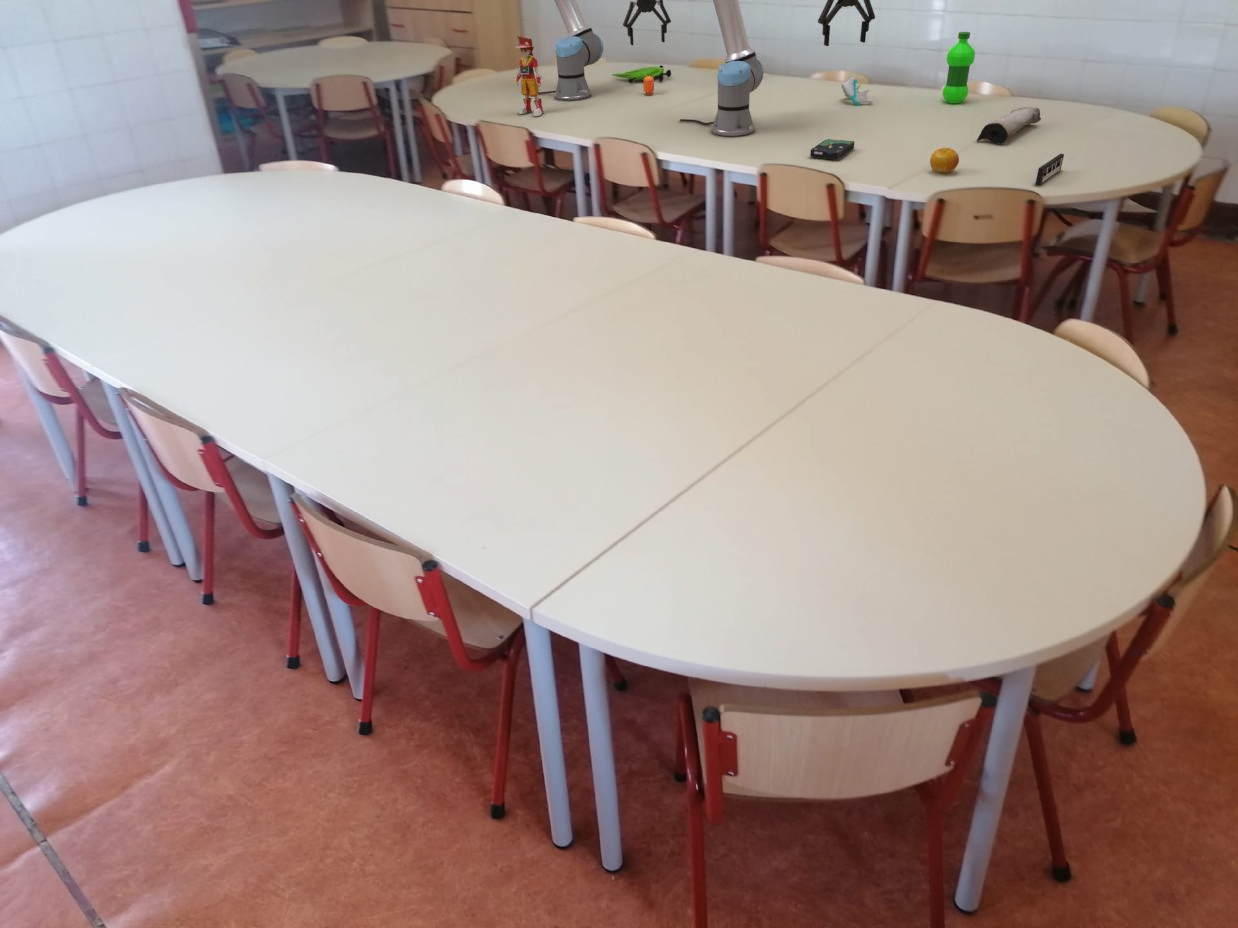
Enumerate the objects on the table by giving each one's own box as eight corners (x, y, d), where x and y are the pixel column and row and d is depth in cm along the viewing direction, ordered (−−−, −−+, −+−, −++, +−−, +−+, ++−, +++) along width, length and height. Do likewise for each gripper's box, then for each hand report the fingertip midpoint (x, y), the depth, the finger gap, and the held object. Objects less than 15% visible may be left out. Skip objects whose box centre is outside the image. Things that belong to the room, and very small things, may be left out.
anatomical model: (836, 76, 365) (861, 69, 364) (839, 102, 371) (863, 95, 370) (847, 84, 352) (872, 77, 352) (849, 111, 358) (874, 104, 358)
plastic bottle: (973, 101, 354) (984, 32, 339) (955, 106, 349) (966, 36, 335) (952, 97, 361) (962, 29, 346) (934, 102, 356) (944, 33, 342)
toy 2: (680, 71, 422) (628, 71, 438) (679, 59, 419) (627, 60, 435) (647, 89, 405) (595, 88, 421) (646, 77, 402) (593, 76, 418)
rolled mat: (1008, 112, 326) (1032, 94, 318) (1022, 133, 327) (1046, 116, 319) (972, 135, 309) (997, 117, 301) (987, 157, 310) (1012, 140, 301)
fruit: (924, 163, 281) (941, 140, 278) (925, 165, 289) (941, 143, 286) (946, 178, 280) (963, 155, 277) (947, 180, 288) (963, 158, 285)
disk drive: (838, 161, 299) (854, 149, 309) (839, 153, 298) (855, 140, 308) (809, 158, 304) (825, 146, 314) (810, 149, 302) (826, 137, 313)
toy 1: (513, 115, 373) (504, 37, 356) (523, 110, 380) (514, 33, 363) (539, 117, 369) (531, 37, 352) (548, 111, 376) (541, 33, 359)
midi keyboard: (1039, 185, 269) (1043, 168, 266) (1035, 184, 270) (1038, 168, 267) (1060, 170, 279) (1064, 154, 277) (1056, 169, 280) (1060, 153, 277)
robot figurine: (655, 96, 390) (655, 76, 386) (645, 97, 390) (645, 77, 385) (652, 92, 396) (651, 73, 391) (642, 93, 395) (641, 74, 390)
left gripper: (673, -17, 373) (673, 39, 385) (614, -12, 370) (617, 44, 382) (677, -14, 367) (678, 42, 379) (617, -9, 364) (620, 47, 376)
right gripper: (879, -28, 310) (873, 39, 322) (811, -22, 307) (807, 45, 319) (889, -26, 304) (882, 42, 316) (819, -20, 301) (814, 49, 313)
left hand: (647, 43), depth 381 cm, fingers open, 13 cm apart
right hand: (844, 44), depth 317 cm, fingers open, 13 cm apart
